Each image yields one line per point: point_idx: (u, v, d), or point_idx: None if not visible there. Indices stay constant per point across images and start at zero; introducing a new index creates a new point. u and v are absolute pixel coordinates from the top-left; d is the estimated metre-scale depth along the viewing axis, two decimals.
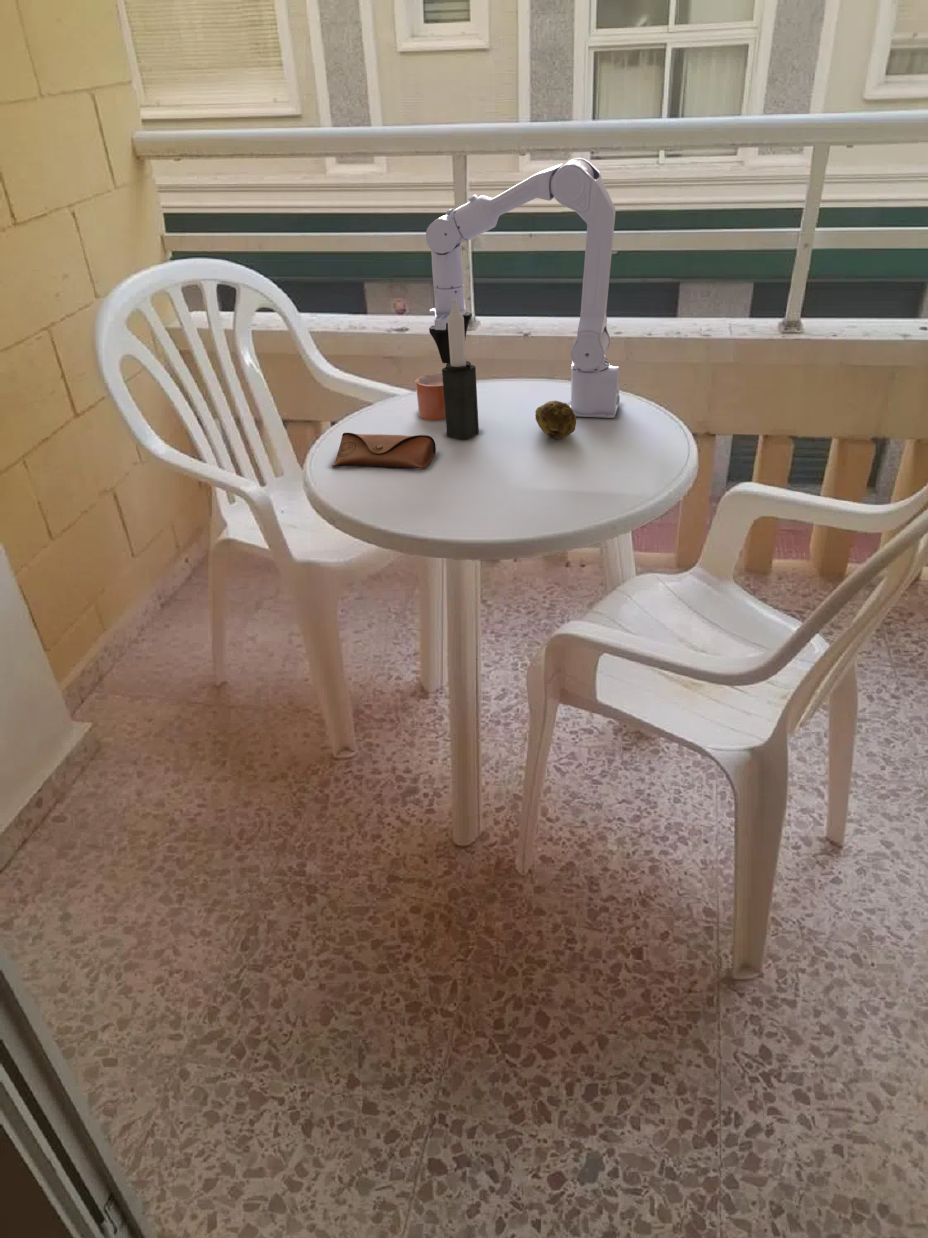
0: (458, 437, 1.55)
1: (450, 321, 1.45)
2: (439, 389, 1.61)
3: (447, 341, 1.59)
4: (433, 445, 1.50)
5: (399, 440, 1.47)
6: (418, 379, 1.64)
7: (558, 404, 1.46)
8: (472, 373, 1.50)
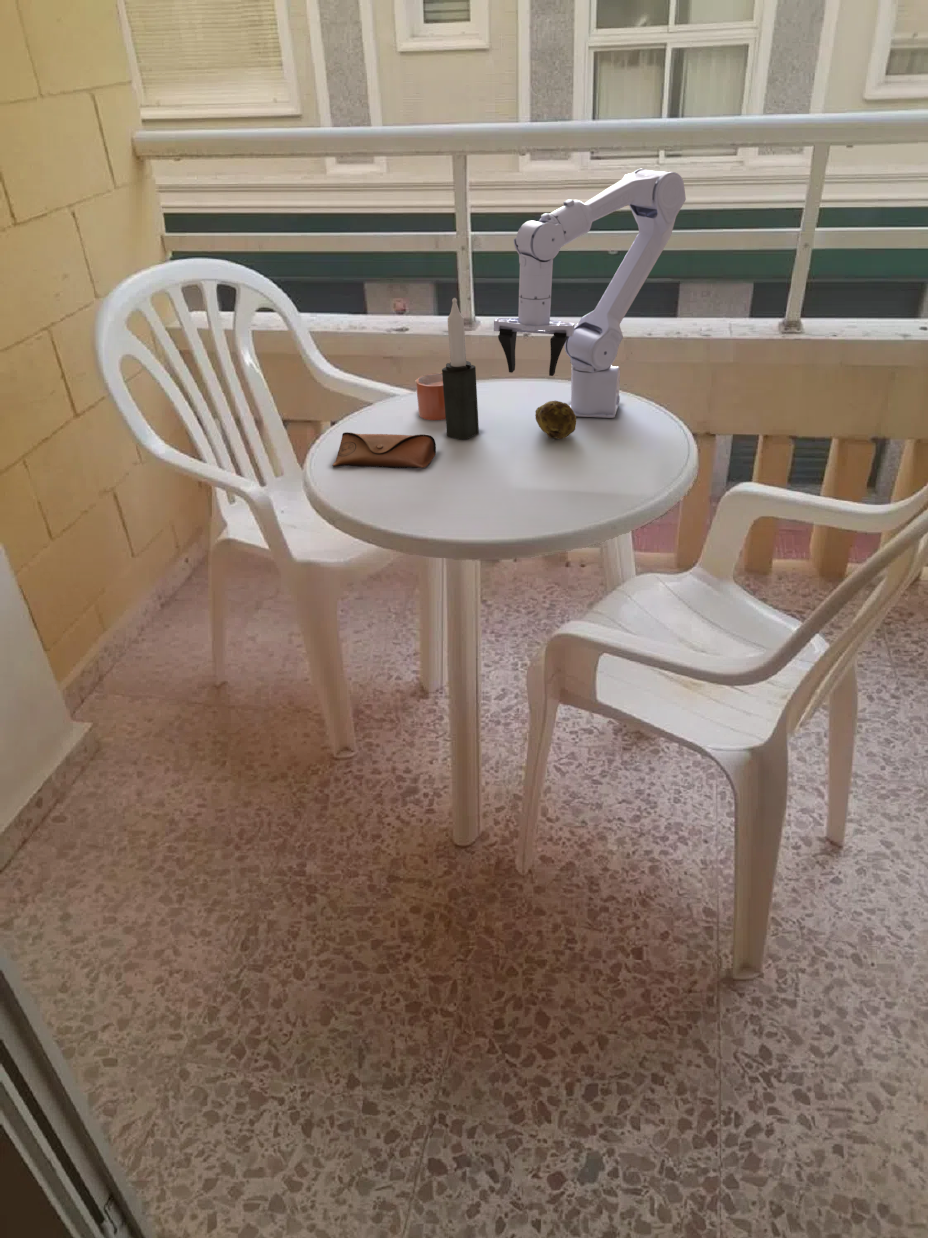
0: (458, 437, 1.55)
1: (450, 321, 1.45)
2: (439, 389, 1.61)
3: None
4: (433, 444, 1.50)
5: (399, 439, 1.47)
6: (418, 379, 1.64)
7: (558, 404, 1.46)
8: (472, 373, 1.50)
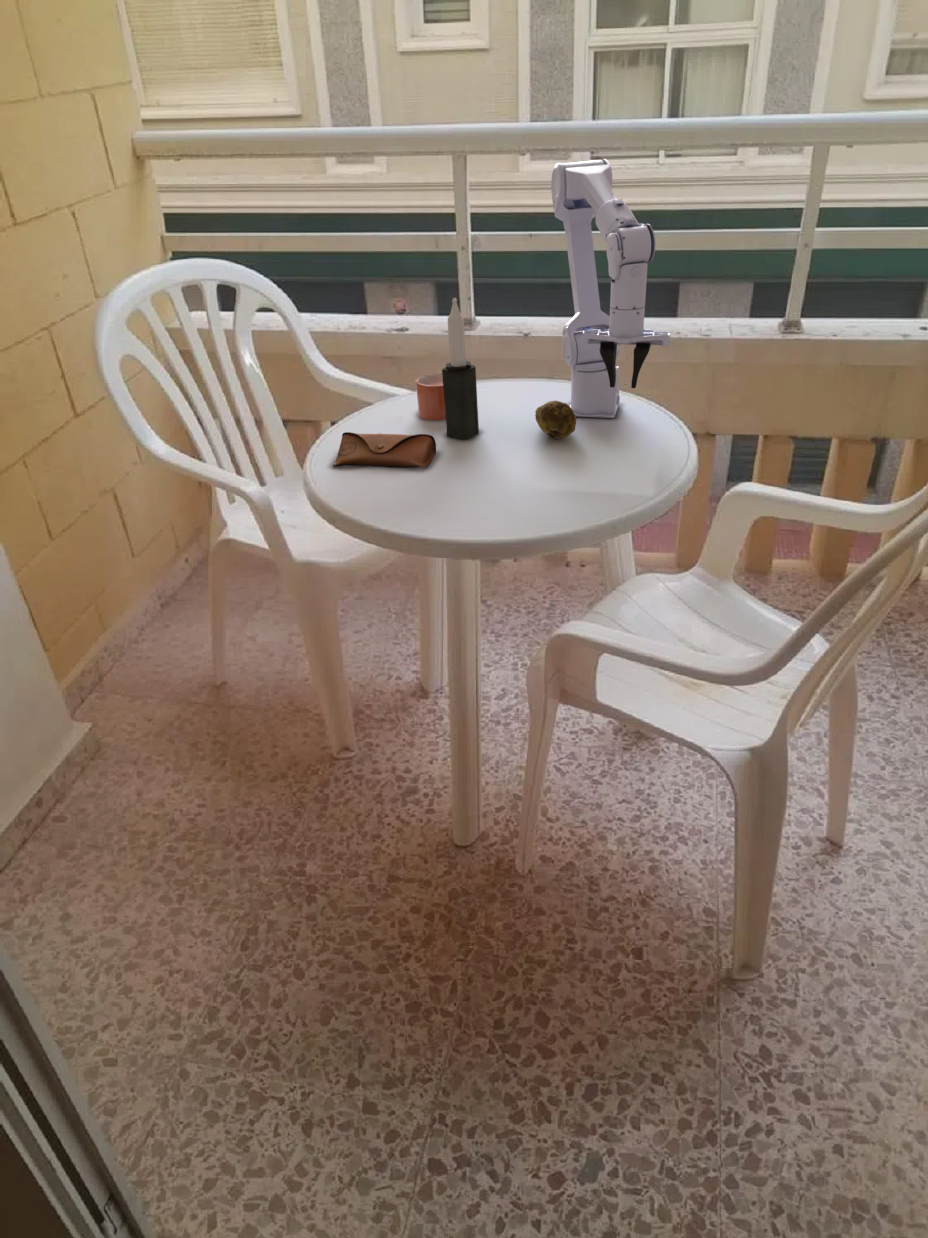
0: (458, 437, 1.55)
1: (450, 321, 1.45)
2: (439, 389, 1.61)
3: None
4: (433, 444, 1.50)
5: (400, 439, 1.47)
6: (418, 379, 1.64)
7: (558, 404, 1.46)
8: (472, 373, 1.50)
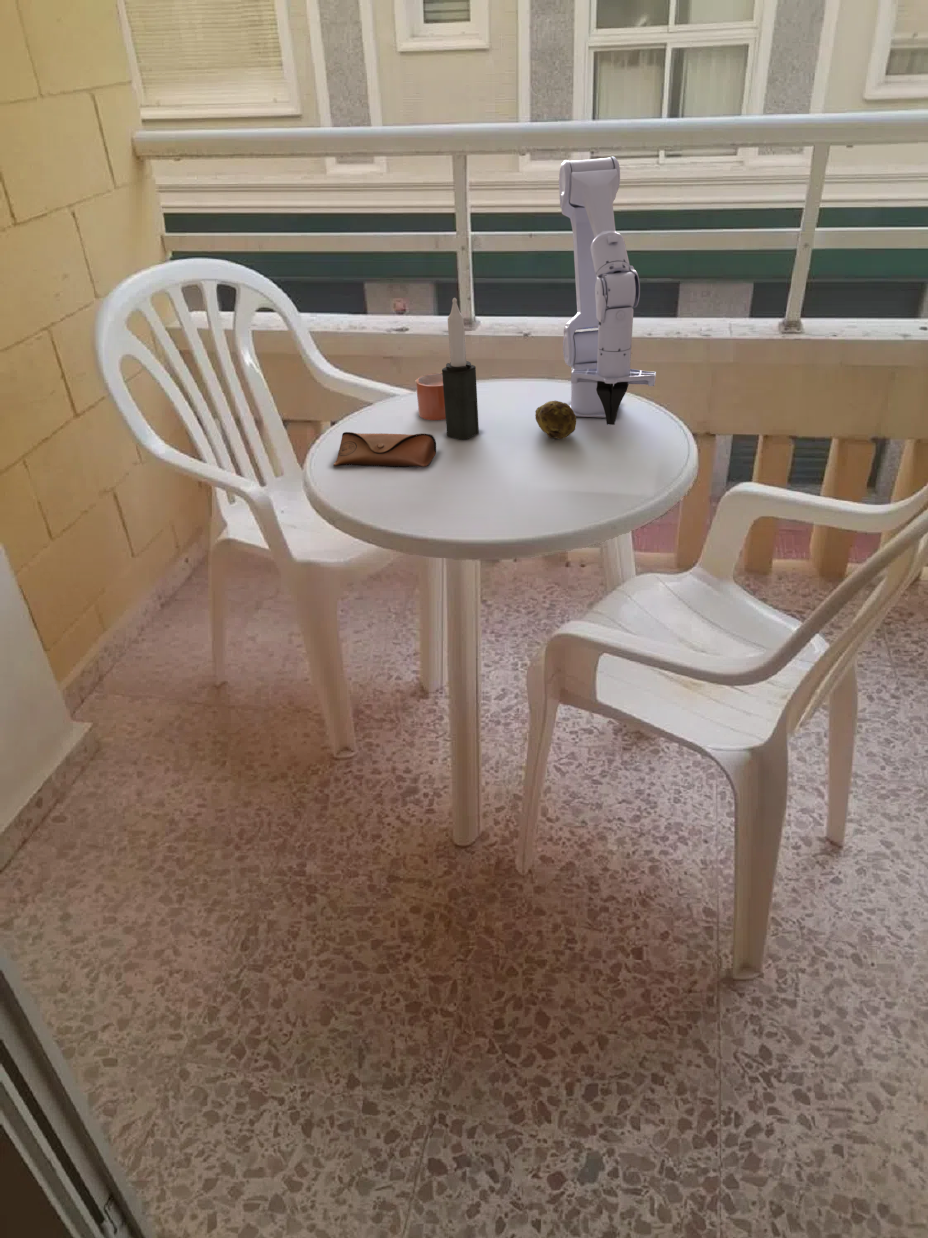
0: (458, 437, 1.55)
1: (450, 321, 1.45)
2: (439, 389, 1.61)
3: None
4: (434, 443, 1.50)
5: (400, 439, 1.47)
6: (418, 379, 1.64)
7: (558, 404, 1.46)
8: (472, 373, 1.50)
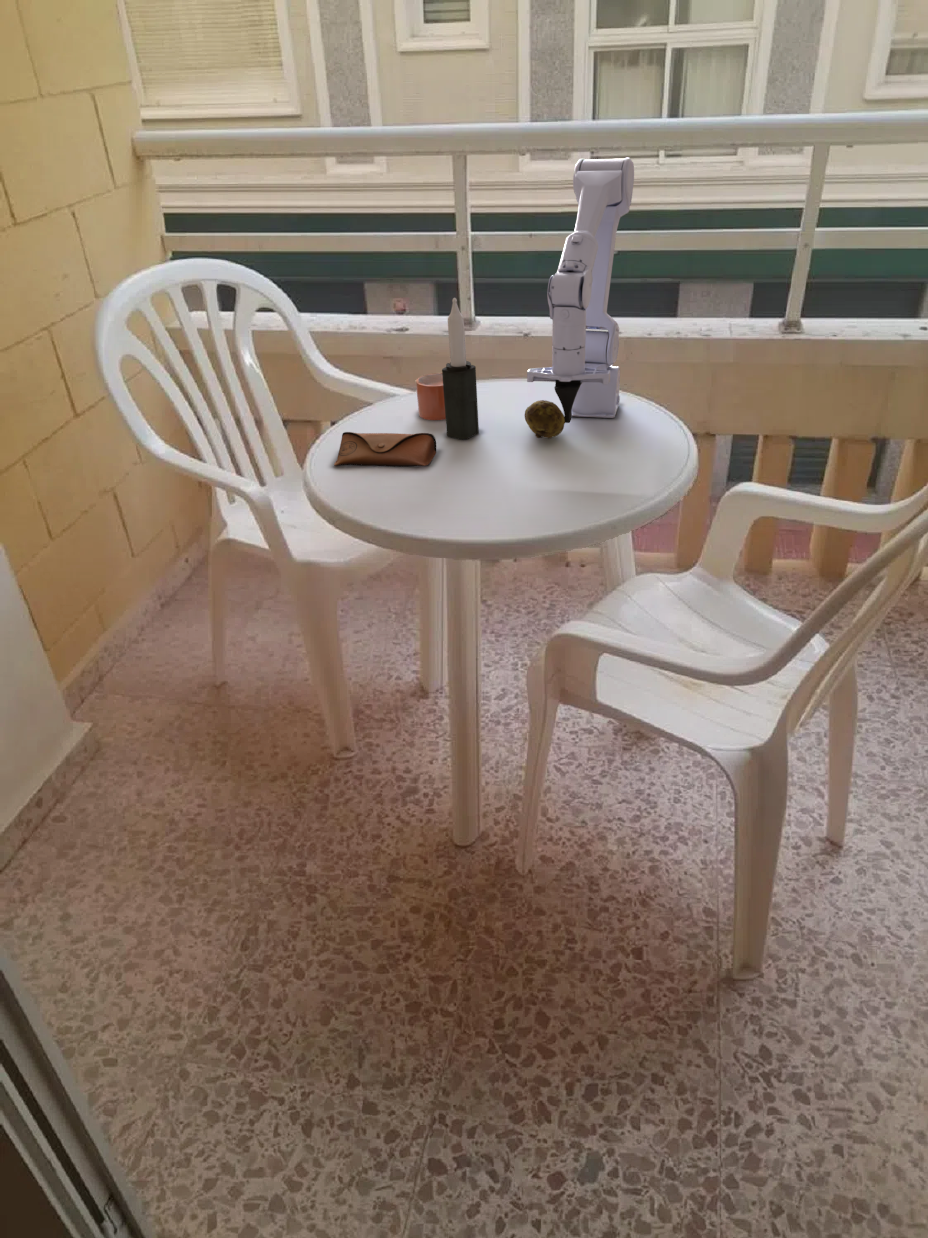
0: (458, 437, 1.55)
1: (450, 321, 1.45)
2: (439, 389, 1.61)
3: None
4: (434, 443, 1.50)
5: (401, 438, 1.47)
6: (418, 379, 1.64)
7: (543, 404, 1.46)
8: (472, 373, 1.50)
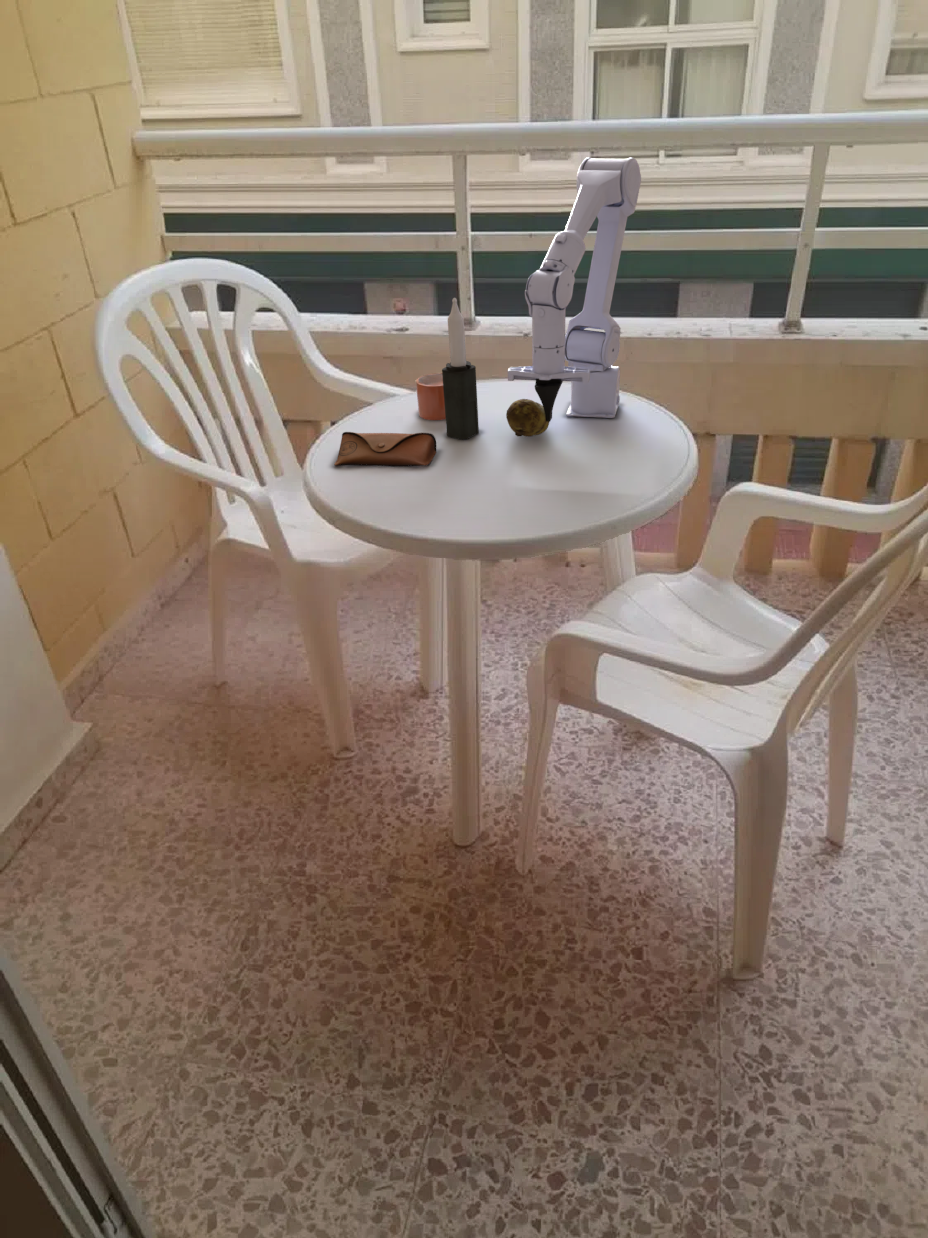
0: (458, 437, 1.55)
1: (450, 321, 1.45)
2: (439, 389, 1.61)
3: None
4: (434, 442, 1.51)
5: (401, 438, 1.48)
6: (418, 379, 1.64)
7: (521, 403, 1.47)
8: (472, 373, 1.50)
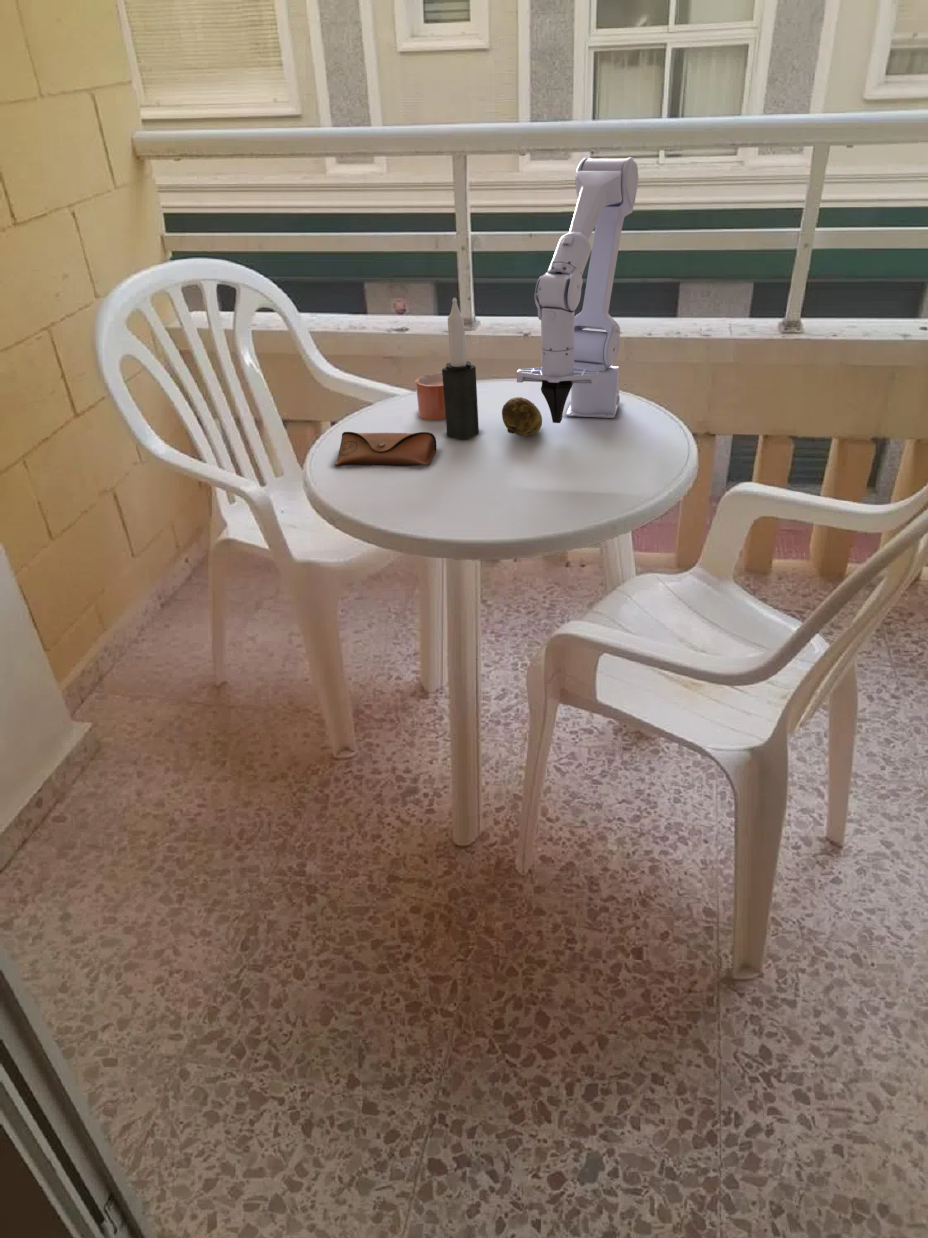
0: (458, 437, 1.55)
1: (450, 321, 1.45)
2: (439, 389, 1.61)
3: None
4: (434, 442, 1.51)
5: (401, 437, 1.48)
6: (418, 379, 1.64)
7: (519, 401, 1.48)
8: (472, 373, 1.50)
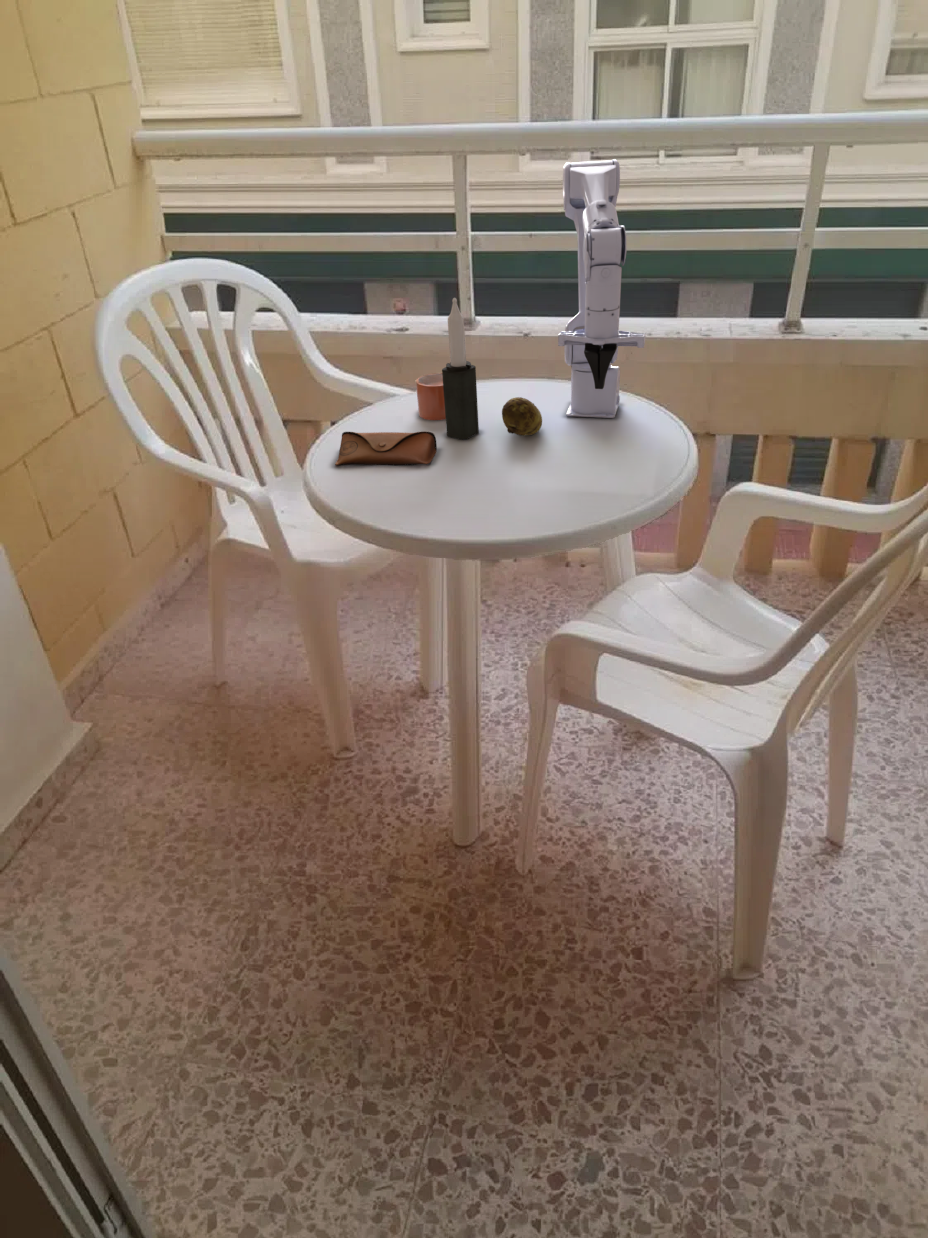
0: (458, 437, 1.55)
1: (450, 321, 1.45)
2: (439, 389, 1.61)
3: None
4: (434, 441, 1.51)
5: (401, 437, 1.48)
6: (418, 379, 1.64)
7: (519, 401, 1.48)
8: (472, 373, 1.50)
